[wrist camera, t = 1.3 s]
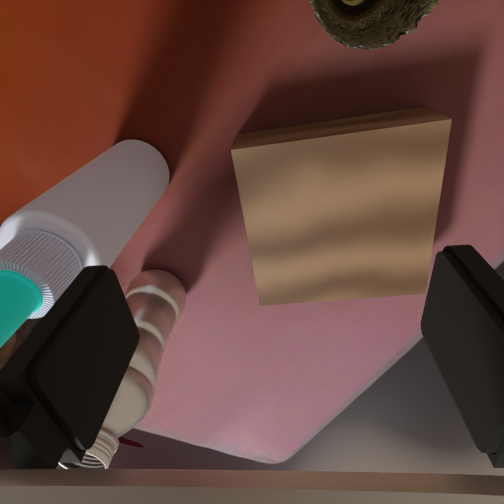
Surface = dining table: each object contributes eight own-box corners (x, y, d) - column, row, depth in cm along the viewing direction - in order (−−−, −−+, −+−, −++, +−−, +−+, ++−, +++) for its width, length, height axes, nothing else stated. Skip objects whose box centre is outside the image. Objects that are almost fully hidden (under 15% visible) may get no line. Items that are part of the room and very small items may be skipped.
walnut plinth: (237, 134, 30) (230, 150, 26) (425, 106, 28) (451, 118, 24) (262, 276, 39) (260, 305, 34) (408, 263, 36) (425, 293, 32)
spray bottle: (97, 146, 32) (-155, 301, 13) (156, 131, 31) (-29, 279, 12) (125, 203, 35) (-48, 395, 16) (179, 192, 34) (60, 383, 15)
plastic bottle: (161, 252, 38) (68, 426, 21) (201, 291, 40) (147, 472, 24) (123, 278, 40) (13, 453, 23) (164, 313, 43) (90, 492, 26)
